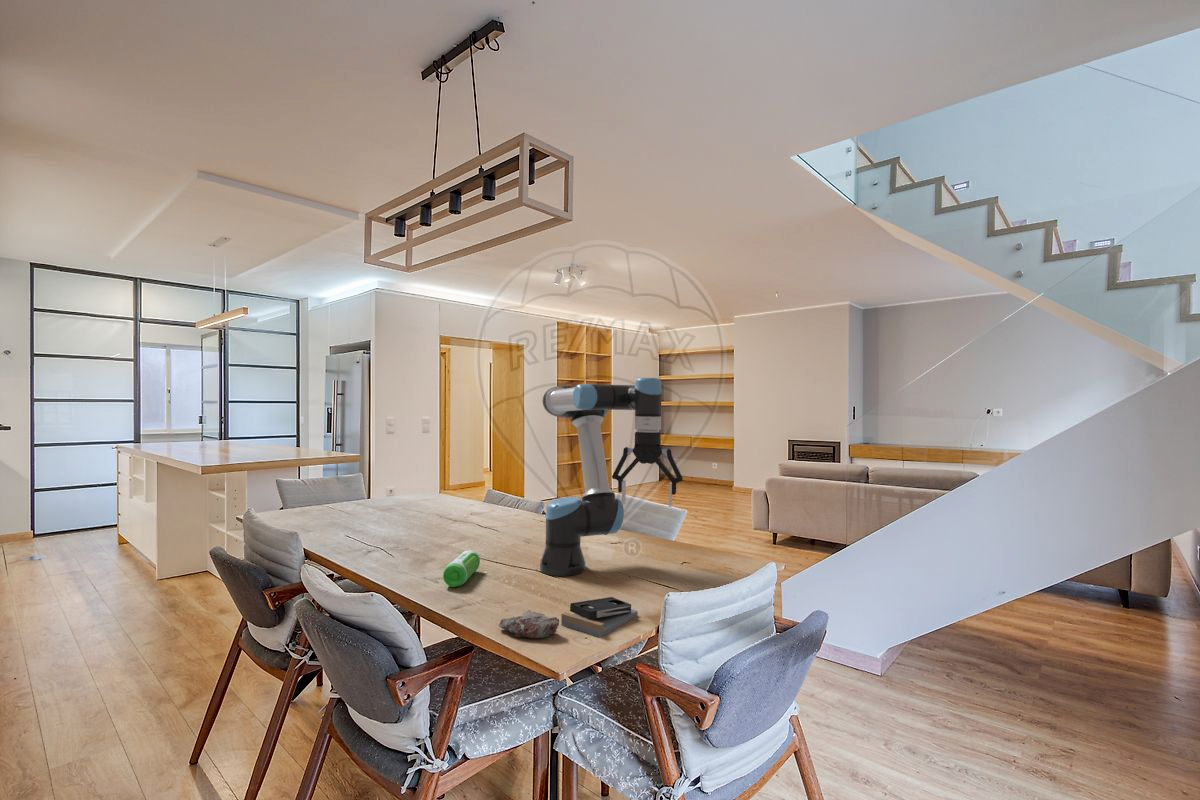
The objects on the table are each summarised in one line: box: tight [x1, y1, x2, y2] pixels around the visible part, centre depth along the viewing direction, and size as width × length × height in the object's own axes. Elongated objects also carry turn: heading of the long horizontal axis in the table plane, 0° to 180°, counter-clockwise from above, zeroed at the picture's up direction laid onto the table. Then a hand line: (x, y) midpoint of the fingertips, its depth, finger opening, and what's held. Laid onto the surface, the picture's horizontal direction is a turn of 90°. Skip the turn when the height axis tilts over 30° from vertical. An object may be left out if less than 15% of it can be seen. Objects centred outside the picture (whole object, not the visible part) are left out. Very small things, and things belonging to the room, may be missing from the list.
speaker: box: [442, 549, 481, 588], centre depth 177 cm, size 18×7×8 cm, turn 176°
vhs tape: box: [569, 596, 632, 620], centre depth 146 cm, size 14×8×2 cm, turn 130°
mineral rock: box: [498, 609, 560, 640], centre depth 136 cm, size 15×8×4 cm, turn 58°
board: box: [560, 608, 638, 638], centre depth 146 cm, size 12×19×3 cm, turn 145°
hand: (646, 504), depth 163 cm, fingers open, 13 cm apart
